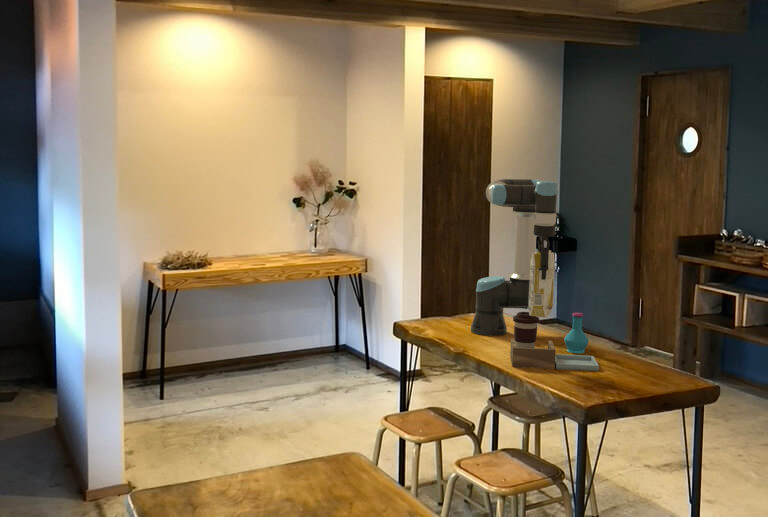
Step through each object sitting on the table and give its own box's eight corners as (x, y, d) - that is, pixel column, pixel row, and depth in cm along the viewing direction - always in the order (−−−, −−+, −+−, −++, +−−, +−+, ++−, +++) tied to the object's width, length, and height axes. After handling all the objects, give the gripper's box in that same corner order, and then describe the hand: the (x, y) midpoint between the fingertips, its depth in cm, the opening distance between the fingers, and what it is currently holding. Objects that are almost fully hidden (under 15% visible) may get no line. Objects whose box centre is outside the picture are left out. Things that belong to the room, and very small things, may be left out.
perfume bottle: (559, 350, 334) (561, 313, 332) (571, 347, 341) (573, 309, 339) (580, 355, 328) (582, 316, 326) (592, 351, 335) (594, 313, 333)
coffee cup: (537, 355, 326) (539, 316, 324) (510, 353, 328) (512, 315, 326) (537, 349, 336) (539, 311, 334) (512, 347, 338) (514, 310, 336)
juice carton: (548, 318, 307) (552, 251, 303) (526, 316, 310) (529, 250, 306) (553, 313, 315) (556, 248, 312) (531, 311, 318) (534, 247, 315)
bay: (510, 356, 323) (511, 338, 322) (550, 358, 322) (551, 340, 321) (512, 367, 309) (513, 348, 308) (554, 369, 308) (555, 349, 307)
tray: (552, 359, 321) (552, 354, 321) (593, 361, 320) (593, 355, 319) (556, 369, 307) (556, 363, 307) (598, 371, 306) (599, 365, 306)
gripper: (532, 221, 319) (529, 280, 322) (536, 227, 297) (533, 290, 300) (552, 221, 319) (549, 281, 322) (558, 228, 296) (554, 291, 299)
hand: (541, 285), depth 311 cm, fingers closed on juice carton, 10 cm apart
